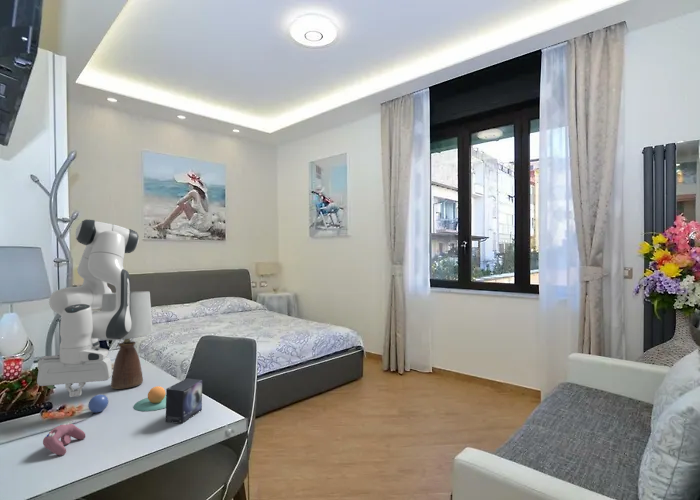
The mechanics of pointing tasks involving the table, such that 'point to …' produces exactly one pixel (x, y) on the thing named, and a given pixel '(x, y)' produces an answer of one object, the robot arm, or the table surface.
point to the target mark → (150, 405)
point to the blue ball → (98, 403)
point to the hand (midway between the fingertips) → (75, 395)
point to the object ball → (156, 394)
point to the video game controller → (62, 438)
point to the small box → (183, 400)
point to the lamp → (127, 358)
